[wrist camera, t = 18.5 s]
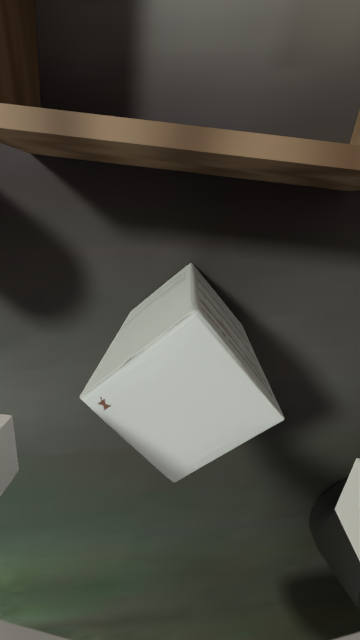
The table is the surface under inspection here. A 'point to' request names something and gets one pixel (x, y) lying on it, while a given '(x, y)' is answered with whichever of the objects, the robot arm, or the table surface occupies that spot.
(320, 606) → the table surface
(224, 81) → the table surface
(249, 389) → the supplement box
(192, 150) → the walnut bin
